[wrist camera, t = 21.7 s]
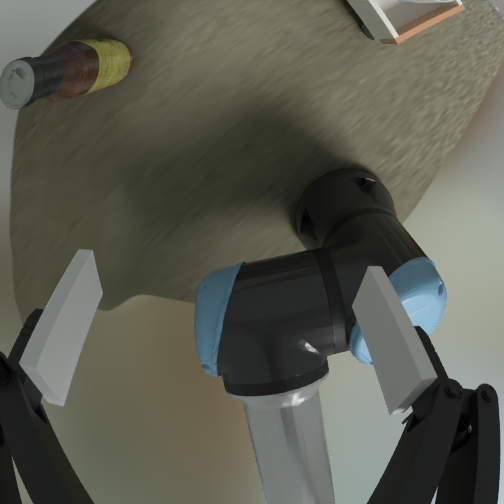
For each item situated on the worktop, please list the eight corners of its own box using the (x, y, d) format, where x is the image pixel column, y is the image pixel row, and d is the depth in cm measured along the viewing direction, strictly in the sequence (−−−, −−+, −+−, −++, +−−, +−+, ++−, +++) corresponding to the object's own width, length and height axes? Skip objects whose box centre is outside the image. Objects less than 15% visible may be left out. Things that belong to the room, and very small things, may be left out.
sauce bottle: (126, 32, 29) (39, 22, 12) (141, 73, 32) (64, 93, 16) (83, 54, 29) (-18, 71, 13) (98, 94, 33) (5, 135, 17)
